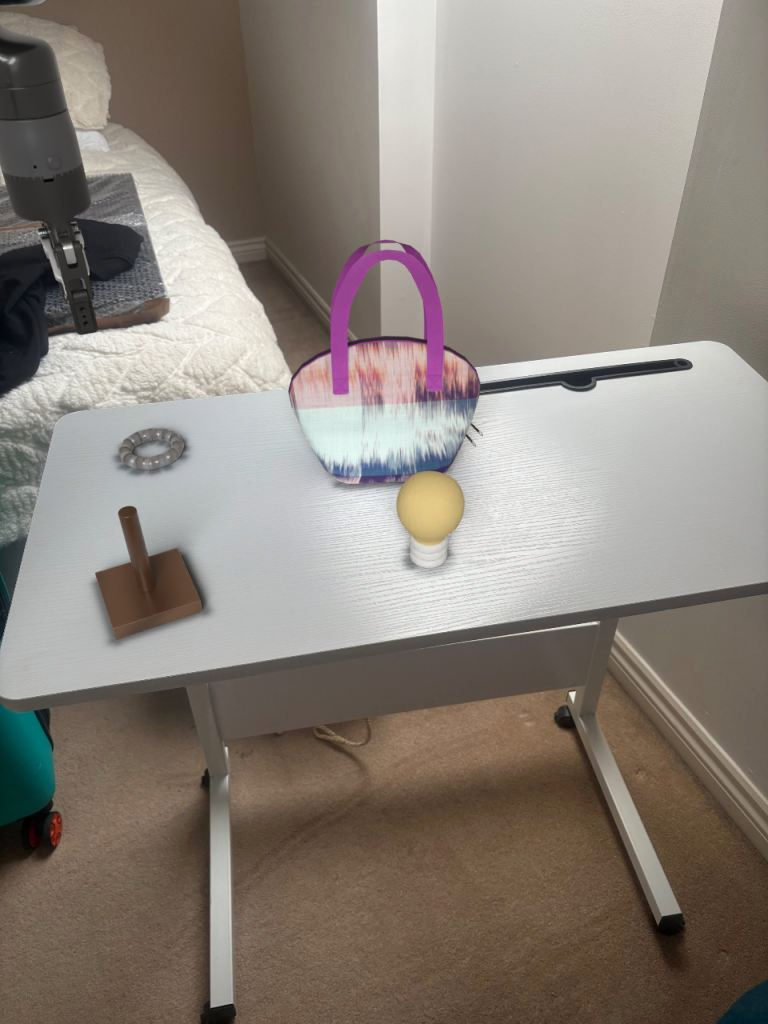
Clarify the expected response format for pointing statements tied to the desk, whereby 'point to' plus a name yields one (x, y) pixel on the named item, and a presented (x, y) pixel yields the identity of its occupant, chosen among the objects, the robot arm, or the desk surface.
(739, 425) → the desk surface
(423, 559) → the light bulb
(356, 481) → the handbag
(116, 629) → the stand
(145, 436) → the grey beaded ring
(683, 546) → the desk surface
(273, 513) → the desk surface
